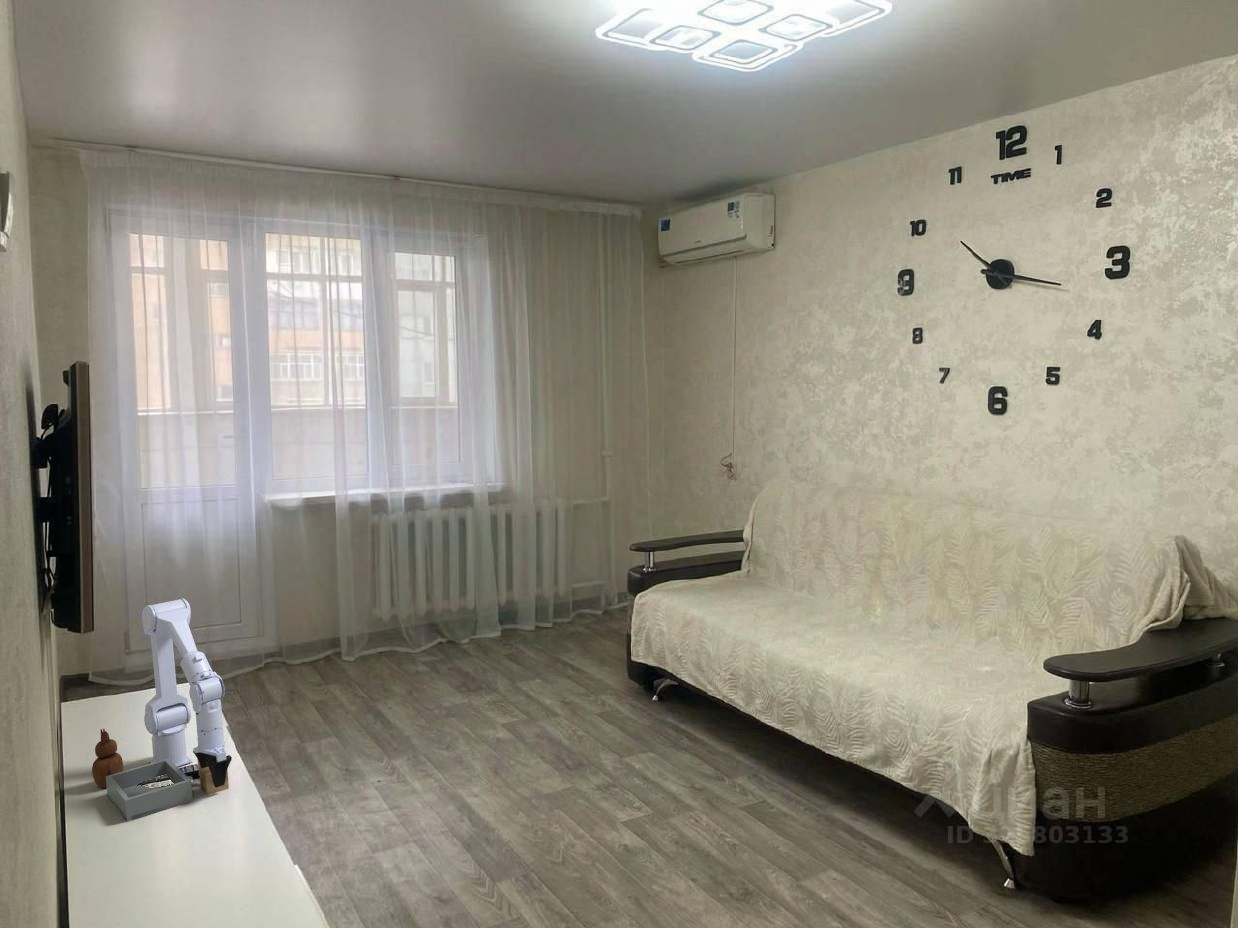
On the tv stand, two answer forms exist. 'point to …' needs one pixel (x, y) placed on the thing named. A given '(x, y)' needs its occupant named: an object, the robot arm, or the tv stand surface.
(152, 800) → the tote
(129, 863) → the tv stand surface
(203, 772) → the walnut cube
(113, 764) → the wooden figurine
